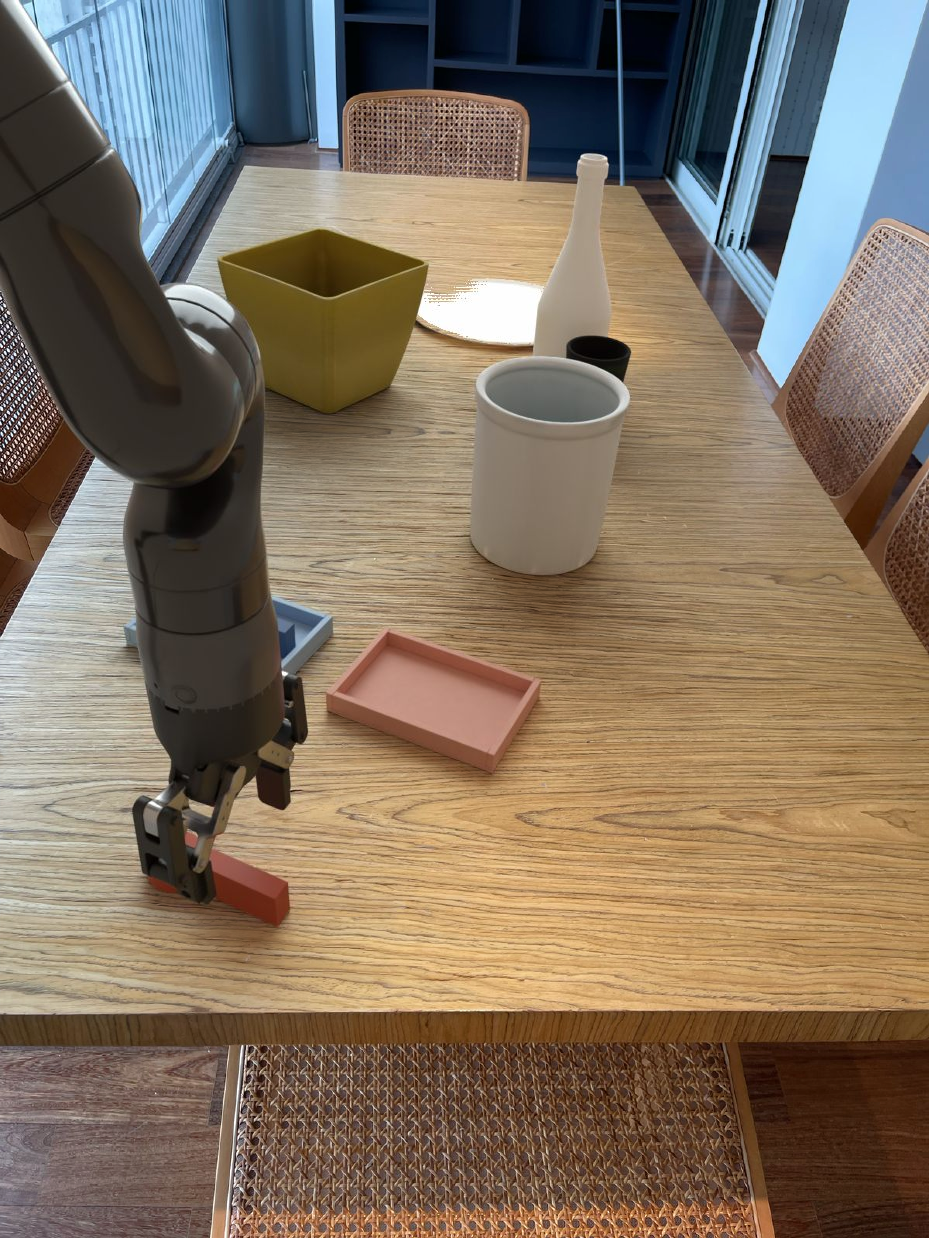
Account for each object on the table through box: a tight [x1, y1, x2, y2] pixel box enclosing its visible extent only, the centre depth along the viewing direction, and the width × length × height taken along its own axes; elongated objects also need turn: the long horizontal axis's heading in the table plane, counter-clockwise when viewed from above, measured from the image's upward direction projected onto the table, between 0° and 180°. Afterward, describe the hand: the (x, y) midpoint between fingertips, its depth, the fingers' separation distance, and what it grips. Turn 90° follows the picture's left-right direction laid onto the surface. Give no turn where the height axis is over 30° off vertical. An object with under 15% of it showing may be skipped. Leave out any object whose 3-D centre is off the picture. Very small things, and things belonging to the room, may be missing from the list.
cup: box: [566, 335, 632, 384], centre depth 122 cm, size 8×8×12 cm
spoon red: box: [147, 831, 291, 928], centre depth 68 cm, size 11×4×3 cm, turn 65°
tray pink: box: [325, 626, 543, 774], centre depth 85 cm, size 15×10×2 cm
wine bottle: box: [532, 153, 613, 359], centre depth 127 cm, size 10×10×30 cm
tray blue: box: [123, 594, 334, 675], centre depth 90 cm, size 15×10×2 cm
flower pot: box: [216, 227, 430, 414], centre depth 128 cm, size 19×19×17 cm
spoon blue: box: [277, 618, 296, 659], centre depth 89 cm, size 11×4×3 cm, turn 65°
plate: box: [416, 278, 545, 348], centre depth 157 cm, size 29×29×1 cm
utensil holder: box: [469, 355, 631, 576], centre depth 101 cm, size 15×15×18 cm
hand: (238, 847), depth 66 cm, fingers open, 8 cm apart
